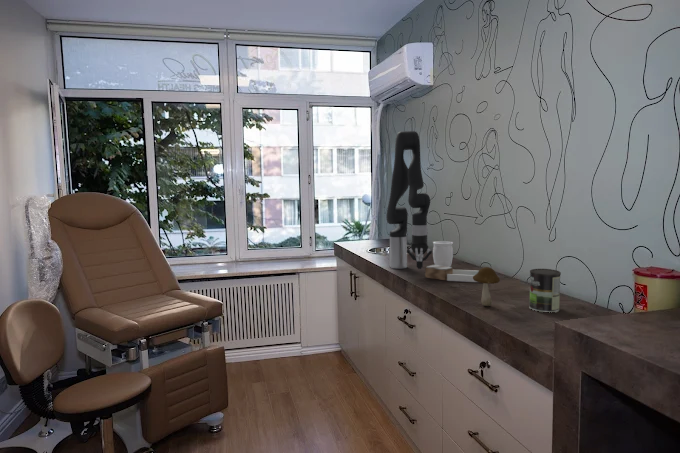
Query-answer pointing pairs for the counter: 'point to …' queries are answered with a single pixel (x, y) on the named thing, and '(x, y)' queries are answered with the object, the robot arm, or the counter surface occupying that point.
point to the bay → (462, 275)
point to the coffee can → (544, 290)
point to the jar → (443, 253)
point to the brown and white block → (438, 272)
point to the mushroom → (486, 283)
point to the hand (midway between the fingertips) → (419, 268)
